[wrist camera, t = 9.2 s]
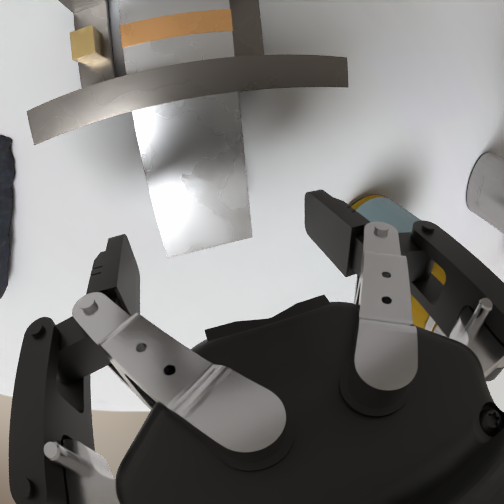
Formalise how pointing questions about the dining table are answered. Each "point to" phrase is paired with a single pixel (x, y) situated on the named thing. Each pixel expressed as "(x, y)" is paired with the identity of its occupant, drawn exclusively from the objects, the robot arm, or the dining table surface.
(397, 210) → the bottle
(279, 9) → the dining table surface
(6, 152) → the dark slate chunk
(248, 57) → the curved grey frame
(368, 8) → the dining table surface
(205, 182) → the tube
